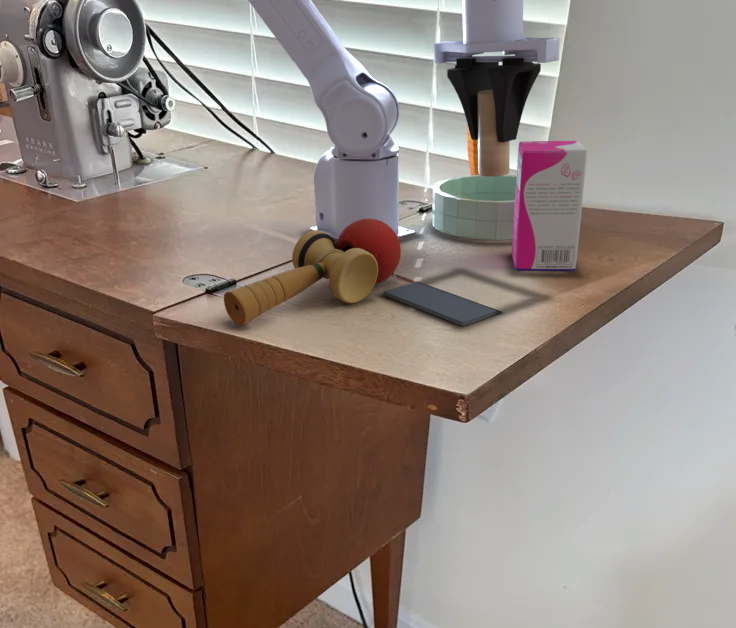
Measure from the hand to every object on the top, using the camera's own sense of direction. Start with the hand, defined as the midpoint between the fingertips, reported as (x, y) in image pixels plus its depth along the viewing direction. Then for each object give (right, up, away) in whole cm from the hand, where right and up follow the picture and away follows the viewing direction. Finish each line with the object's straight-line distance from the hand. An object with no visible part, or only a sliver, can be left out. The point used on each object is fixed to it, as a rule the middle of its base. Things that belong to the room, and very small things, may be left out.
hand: (493, 139), depth 81 cm
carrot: (+2, 0, +21) cm, 21 cm away
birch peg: (0, -3, +2) cm, 3 cm away
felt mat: (-4, -18, -11) cm, 21 cm away
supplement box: (+4, -14, -3) cm, 15 cm away
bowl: (+1, -7, +9) cm, 12 cm away
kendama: (-17, -18, -11) cm, 27 cm away
